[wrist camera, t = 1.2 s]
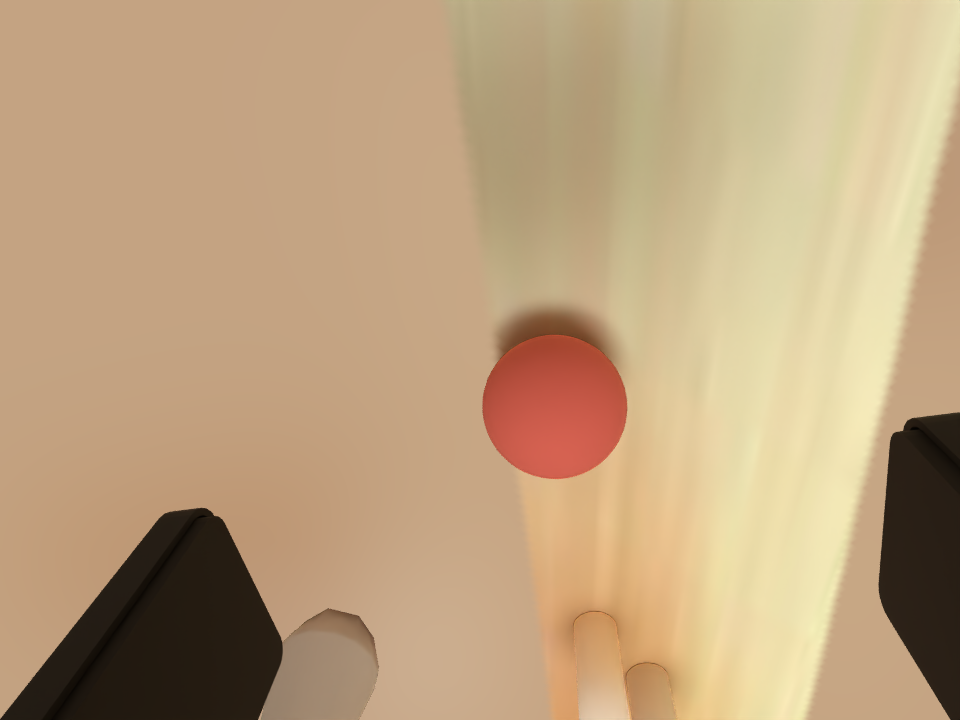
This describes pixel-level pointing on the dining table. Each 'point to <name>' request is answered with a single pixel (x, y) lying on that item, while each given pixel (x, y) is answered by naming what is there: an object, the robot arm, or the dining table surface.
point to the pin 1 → (599, 668)
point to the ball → (554, 406)
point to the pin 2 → (650, 693)
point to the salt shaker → (324, 670)
